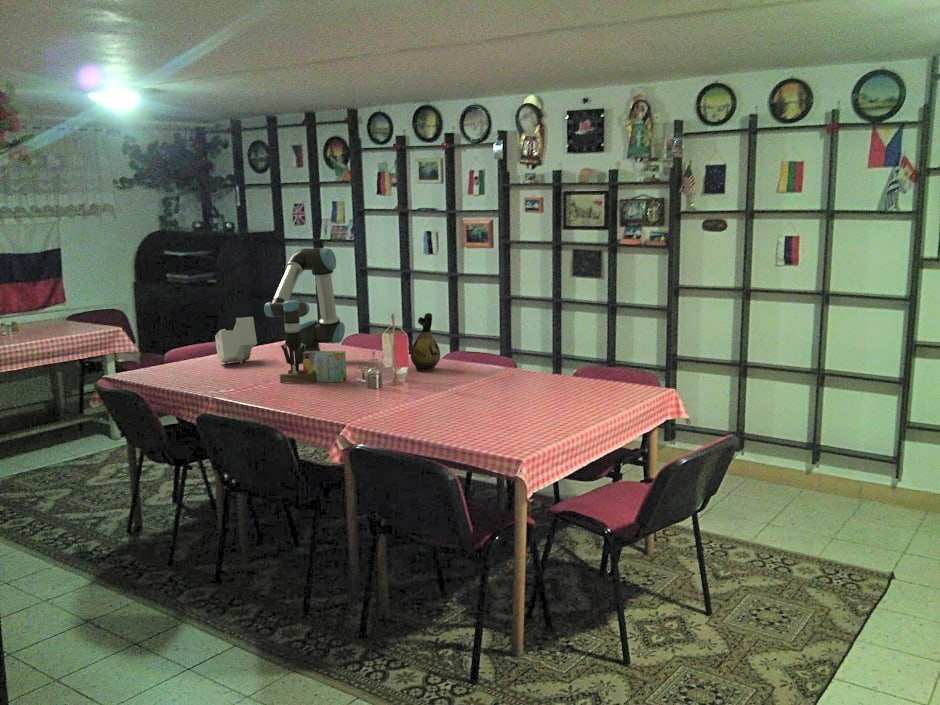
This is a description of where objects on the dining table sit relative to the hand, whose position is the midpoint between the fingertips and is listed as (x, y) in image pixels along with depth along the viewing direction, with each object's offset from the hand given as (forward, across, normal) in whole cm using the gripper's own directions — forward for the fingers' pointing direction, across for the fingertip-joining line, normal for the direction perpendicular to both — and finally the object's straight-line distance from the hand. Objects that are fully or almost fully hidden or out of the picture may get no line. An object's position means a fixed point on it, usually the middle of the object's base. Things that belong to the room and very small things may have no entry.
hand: (295, 377), depth 426 cm
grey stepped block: (+2, -53, +43) cm, 68 cm away
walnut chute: (+2, +3, 0) cm, 4 cm away
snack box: (+2, +16, -1) cm, 16 cm away
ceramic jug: (+2, +61, +30) cm, 68 cm away
